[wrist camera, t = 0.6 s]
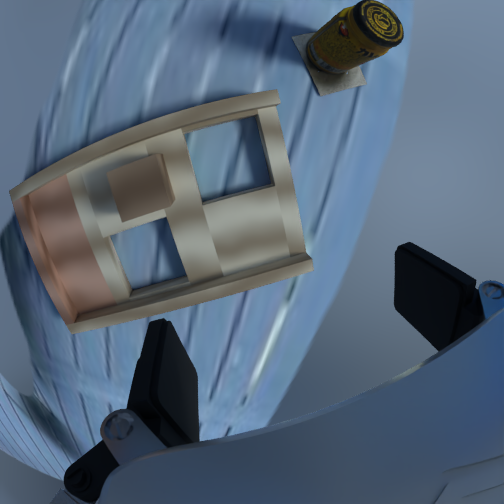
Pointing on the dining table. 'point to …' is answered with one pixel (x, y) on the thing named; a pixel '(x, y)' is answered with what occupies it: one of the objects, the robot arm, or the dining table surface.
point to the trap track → (179, 217)
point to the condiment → (349, 45)
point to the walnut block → (141, 187)
